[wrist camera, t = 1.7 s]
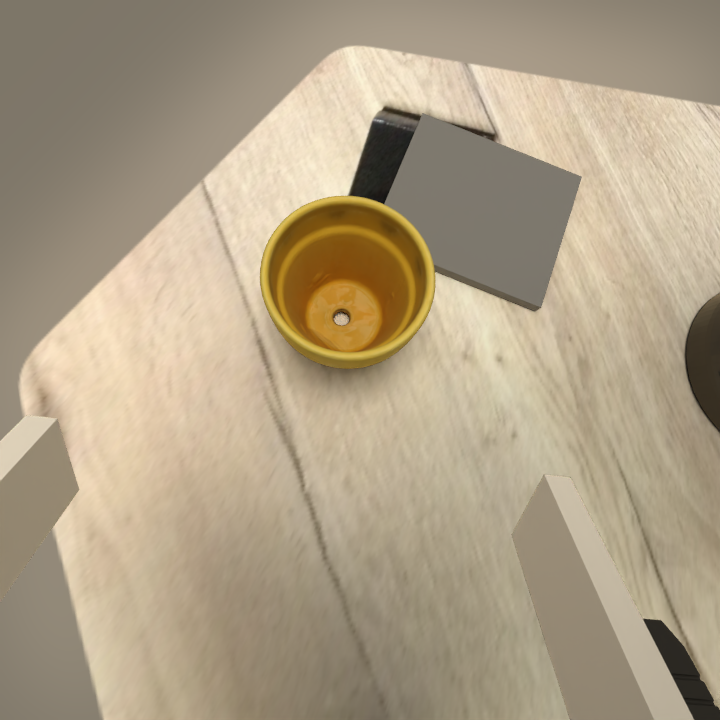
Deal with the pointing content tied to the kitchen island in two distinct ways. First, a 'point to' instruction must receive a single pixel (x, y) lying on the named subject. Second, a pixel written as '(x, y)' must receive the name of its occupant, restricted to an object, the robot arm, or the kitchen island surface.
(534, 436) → the kitchen island surface
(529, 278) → the trivet mat
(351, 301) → the plant pot
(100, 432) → the kitchen island surface
